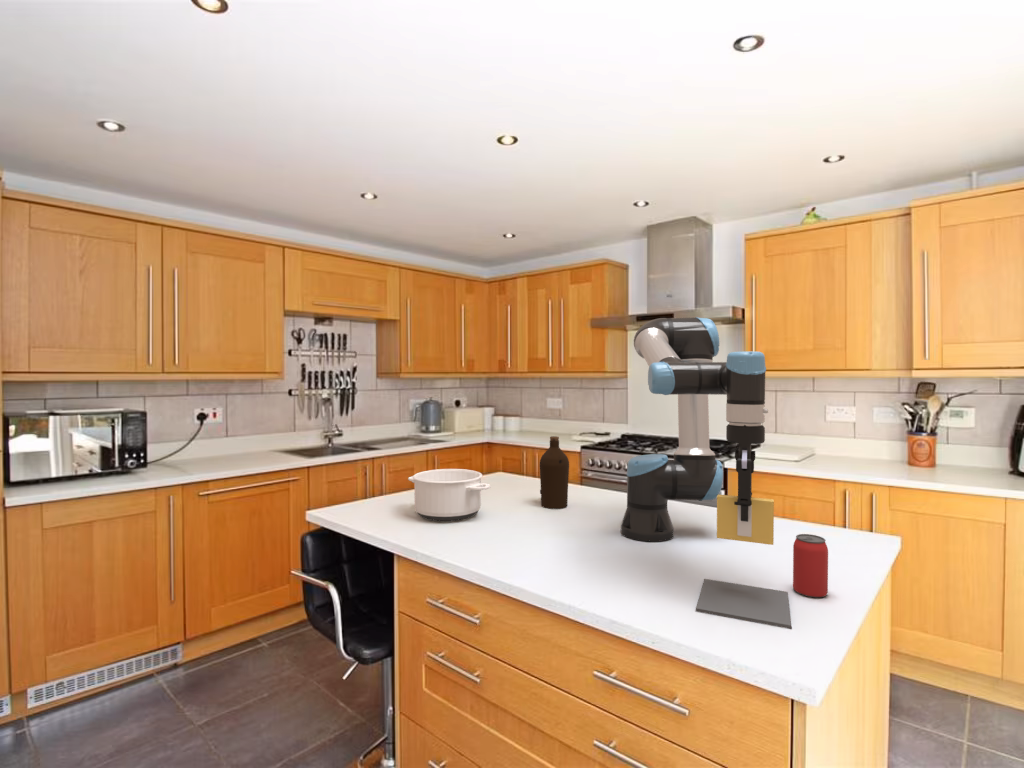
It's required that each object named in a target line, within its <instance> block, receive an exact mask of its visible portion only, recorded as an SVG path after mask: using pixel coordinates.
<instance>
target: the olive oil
mask: <svg viewBox="0 0 1024 768" xmlns="http://www.w3.org/2000/svg"><path fill="white" fill-rule="evenodd" d="M549 439H550V440H549V447H548V448H547V450H546V451H545V452H544V453H543V454H542V455H541V457H540V460H539V478H540V481H539V482H540V489H539V494H540V504H541V507H542V508H545V509H550V510H558V509H559V510H561V509H565V508H567V507H568V502H569V501H568V499H569V498H568V497H569V496H568V494H569V478H570V477H569V475H570V461H569V458H568V456H567V455H566V453H565V452H564V451H563V450H562V449H561V448H560V440H559V439H560V438H559V436H557V435H555V436H552V435H551V436H549Z"/></svg>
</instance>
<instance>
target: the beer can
mask: <svg viewBox="0 0 1024 768" xmlns="http://www.w3.org/2000/svg"><path fill="white" fill-rule="evenodd" d="M792 552H793V555H792V561H793V562H792V566H793V567H792V587H793V590H794V591H795V592H796V593H797V594H800V595H802V596H805V597H808V598H814V599H815V598H818V599H819V598H824V597H826V596H828V593H829V590H828V587H829V549H828V545H827V542H826V539H825V538H824V537H822V536H819V535H817V534H811V533H809V534H808V533H799V534H796V536H795V540H794V542H793V549H792Z"/></svg>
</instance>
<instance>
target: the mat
mask: <svg viewBox="0 0 1024 768" xmlns="http://www.w3.org/2000/svg"><path fill="white" fill-rule="evenodd" d="M695 612H698V613H705V614H710V615H714V616H720V617H724V618H729V619H737V620H741V621H748V622H754V623H759V624H764V625H769V626H774V627H780V628H785V629H791V630H793V629H792V618H791V609H790V599H789V591H785V590H779V589H773V588H766V587H760V586H755V585H754V586H753V585H746V584H742V583H741V584H740V583H735V582H734V583H733V582H728V581H723V580H722V581H720V580H717V579H716V580H715V579H710V578H709V579H708V578H704V579H703V582H702V585H701V589H700V592H699V595H698V599H697V603H696V605H695Z"/></svg>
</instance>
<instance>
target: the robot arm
mask: <svg viewBox="0 0 1024 768" xmlns="http://www.w3.org/2000/svg"><path fill="white" fill-rule="evenodd" d="M633 346H634V350H635V352H636V354H637V355H638V356H639V357H641V358H642V359H644V360H645V362H646V363H647V365H648V370H647V371H648V372H647V385H648V389H649V392H650V393H652V394H655V395H664V396H669V395H677V414H678V416H677V417H678V418H677V419H678V420H677V421H678V423H677V424H678V425H677V426H678V448H677V450H676V451H674V452H673V459H669V458H668V455H667V454H664V453H651V454H643V455H637V456H633V457H632V458H630V459H628V462H627V467H626V473H625V475H626V485H627V486H626V487H627V488H626V491H627V493H626V509H625V512H624V515H623V518H622V521H621V525H620V534H621V535H623V536H624V537H626V538H628V539H631V540H636V541H641V542H650V543H651V542H652V543H653V542H654V543H655V542H665V541H669V540H671V539H673V538H674V526H673V523H672V519H671V516H670V513H669V510H668V501H669V500H672V501H673V500H674V501H677V500H678V501H700V502H702V501H713V500H715V499H717V495H718V494H720V493H721V491H722V487H723V481H724V470H723V463H722V462H721V461H720V460H718V459H716V453H715V452H714V451H713V450H711V448H710V422H709V421H710V415H709V412H710V411H709V395H712V396H713V395H714V396H715V395H719V396H720V395H725V396H726V404H725V408H726V409H725V410H726V411H725V416H726V417H725V419H726V420H725V421H726V423H729V424H727V425H726V438H725V439H726V441H727V442H729V443H733V444H738V449H735V451H734V459H735V472H736V473H737V496H738V500H737V502H734V505H738V525H737V535H739V536H748V537H751V534H752V501H751V497H752V496H753V492H752V479H753V478H752V474H753V473H754V471H755V460H756V450H752V445H761V444H763V443H765V441H766V439H765V438H766V428H765V426H764V425H763V424H764V423H765V419H766V418H765V416H766V415H765V414H768V413H769V410H768V408H765V403H766V401H765V400H766V371H767V366H766V358H765V356H766V355H765V354H764V353H763V352H761V351H731V352H729V353H727V356H726V361H724V362H723V361H720V362H719V361H717V362H716V361H714V360H713V358H715V357H717V356H718V354H719V351H720V337H719V331H718V328H717V325H716V324H715V322H714V321H713V320H712V319H710V318H706V317H698V316H696V317H660V318H655V319H652V320H649V321H647V322H646V323H644V324H643V325H641V326H640V327H639V328H638V330H637V331H636V333H635V335H634V337H633ZM713 361H714V362H713Z"/></svg>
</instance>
